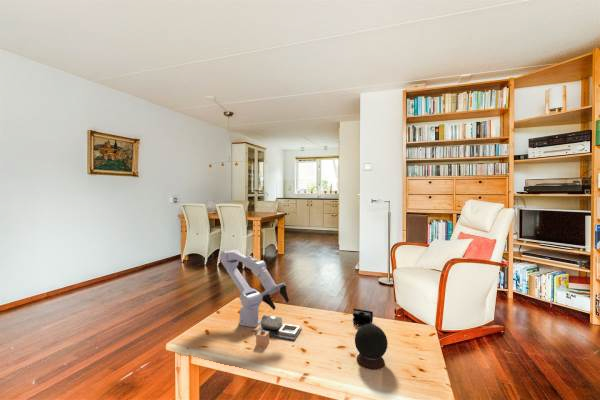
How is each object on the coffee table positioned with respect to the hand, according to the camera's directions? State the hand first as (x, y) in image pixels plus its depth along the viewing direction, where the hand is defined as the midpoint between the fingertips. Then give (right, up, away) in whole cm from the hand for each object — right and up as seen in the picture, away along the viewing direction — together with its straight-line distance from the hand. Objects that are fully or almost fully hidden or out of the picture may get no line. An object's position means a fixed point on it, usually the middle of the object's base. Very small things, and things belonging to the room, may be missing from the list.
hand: (281, 305), depth 137 cm
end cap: (+43, -16, +18) cm, 49 cm away
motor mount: (-2, -16, +6) cm, 17 cm away
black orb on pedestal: (+38, -17, -18) cm, 45 cm away
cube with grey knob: (-8, -16, -5) cm, 19 cm away
